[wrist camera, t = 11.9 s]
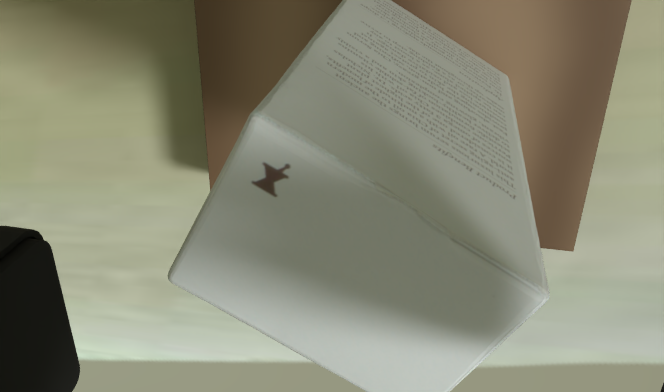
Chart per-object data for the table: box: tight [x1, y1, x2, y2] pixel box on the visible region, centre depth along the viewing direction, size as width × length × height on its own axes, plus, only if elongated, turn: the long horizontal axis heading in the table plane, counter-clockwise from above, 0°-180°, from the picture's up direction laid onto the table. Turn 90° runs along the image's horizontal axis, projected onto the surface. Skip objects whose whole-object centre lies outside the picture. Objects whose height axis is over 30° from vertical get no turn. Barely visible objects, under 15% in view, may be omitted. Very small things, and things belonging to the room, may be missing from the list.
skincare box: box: [168, 0, 549, 392], centre depth 17 cm, size 6×4×12 cm
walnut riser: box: [194, 0, 631, 251], centre depth 23 cm, size 14×12×3 cm
